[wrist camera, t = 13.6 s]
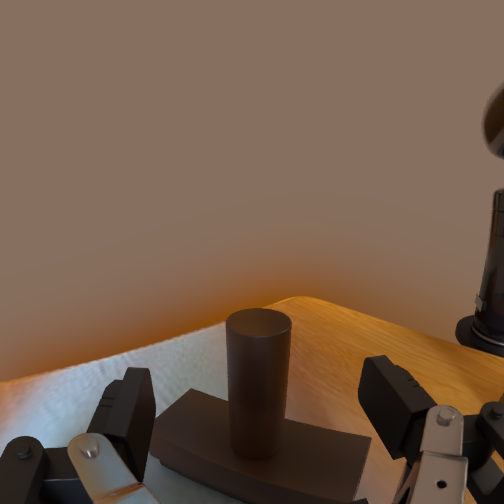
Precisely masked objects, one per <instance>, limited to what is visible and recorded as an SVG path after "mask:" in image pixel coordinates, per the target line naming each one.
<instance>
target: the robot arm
mask: <svg viewBox="0 0 504 504" xmlns="http://www.w3.org/2000/svg"><path fill="white" fill-rule="evenodd" d="M481 132H482V137H483V141H484V143H485V146H486V147H487V149H488V151H489V152H490V153H491V154H492V155H494V156H495V157H497V158H499V159H502V160H504V80H503V81H502V82H501V83H500V84H499V85H498V86H497V87H496V88H495V90H494V91H493V92H492V93H491V94H490V96H489V98H488V99H487V101H486V104H485V107H484V110H483V114H482V121H481ZM475 303H476V305H477V306H476V310H475V314H474V318H473V321H472V324H471V331H472V333H473V334H474V335H475V336H476V337H477V338H479V339H480V340H482V341H484V342H486V343H488V344H490V345H493V346H497V347H503V348H504V187H501V188H498V189H496V190H495V191H494V193H493V196H492V210H491V220H490V229H489V239H488V247H487V254H486V260H485V267H484V272H483V277H482V283H481V288H480V293H479V296H478V294H477V295H476V300H475ZM358 399H359V403H360V405H361V407H362V408H363V410H364V412H365V413H366V415H367V417H368V418H369V420H370V422H371V423H372V425H373V427H374V428H375V430H376V432H377V433H378V435H379V437H380V439H381V440H382V442H383V444H384V445H385V447H386V449H387V450H388V452H389V454H390V455H391V457H392V459H393V460H395V459H399V458H402V457H405V458H406V459H407V461H406V463H405V465H404V468H403V471H402V475H401V478H400V481H399V484H398V488H397V491H396V494H395V497H394V500H393V502H392V504H464V499H465V491H466V486H467V488H468V489H469V491H470V493H471V494H472V496H473V497H474V499H475V501H476V502H477V504H504V474H503V472H502V471H501V470H500V468H499V467H498V466H497V464H496V463H495V462H494V460H493V459H492V458H491V455H492V454H493V452H494V451H495V450H496V451H497V452H498V453H499V455H500V456H501V457H502V459H503V460H504V404H503V403H500V402H488V403H486V404H484V405H483V406H482V408H481V410H480V413H479V414H477V415H466V416H463V415H462V414H461V413H460V411H458V410H457V409H456V408H453V407H451V406H447V405H437V403H436V402H435V401H434V400H433V399H432V398H431V397H430V396H429V394H428V393H427V392H426V391H425V390H424V389H423V388H422V387H421V386H420V384H419V383H418V382H417V381H416V380H414V378H413V377H412V375H411V374H410V373H409V372H408V371H407V370H405V369H403V368H401V367H400V366H398V365H394V364H393V363H392V362H391V361H390V360H389V359H388V357H387V356H385V355H381V356H374V357H367V358H366V359H365V360H364V364H363V369H362V373H361V378H360V383H359V387H358ZM155 416H156V403H155V397H154V392H153V386H152V381H151V375H150V371H149V369H148V368H134V367H128V368H127V371H126V373H125V376H124V378H123V380H114V381H113V382H112V383H110V384H109V385H108V386H107V387H106V388H105V390H104V393H103V395H102V399H100V402H99V404H98V406H97V408H96V411H95V413H94V415H93V418H92V420H91V422H90V425H89V427H88V429H87V432H86V433H84V434H81V435H78V436H76V437H75V438H74V439H72V440H71V441H70V443H69V445H68V447H62V448H43V446H42V444H41V443H40V441H39V440H37V439H36V438H33V437H30V436H21V437H17V438H15V439H13V440H12V441H10V442H9V443H8V444H7V446H6V448H5V450H4V451H3V453H2V455H1V457H0V504H160V503H159V502H158V500H157V499H156V498H155V497H154V496H153V494H152V493H151V492H150V491H149V489H148V488H147V487H146V486H145V485H144V484H143V483H139V482H143V479H144V473H145V467H146V462H147V457H148V451H149V446H150V441H151V436H152V431H153V426H154V421H155ZM344 504H369V503H368V501H367V499H366V498H364V499H361V500H357V501H353V502H348V503H344Z"/></svg>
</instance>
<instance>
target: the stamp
mask: <svg viewBox="0 0 504 504" xmlns="http://www.w3.org/2000/svg"><path fill="white" fill-rule="evenodd" d="M291 328H292V322H291V319H290V318H289V317H288V316H287V315H285V314H284V313H282V312H279V311H276V310H271V309H262V308H254V309H246V310H241V311H238V312H235V313H233V314H231V315H230V316H229V317H228V318H227V320H226V345H227V374H228V400H229V401H226V400H223V399H220V398H217V397H214V396H211V395H208V394H206V393H203V392H200V391H197V390H195V389H192V388H191V389H189V390H188V391H187V392H186V393H185V394H184V395H183V396H181V397H180V398H179V399H178V400H177V401H176V402H174V403H173V404H172V405H171V406H170V407H169V408H167V409H166V410H165V411H164V412H163V413H162V414H160V415H159V416H158V417H157V418H156V419H155V421H154V426H153V431H152V436H151V441H150V446H149V451H150V454H151V455H152V456H153V457H155V458H157V459H159V460H160V463H161V465H163V466H165V467H167V468H169V469H171V470H173V471H175V472H177V473H179V474H181V475H183V476H185V477H187V478H189V479H191V480H193V481H195V482H197V483H200V484H202V485H204V486H206V487H209V488H211V489H213V490H216V491H218V492H220V493H223V494H225V495H228V496H230V497H233V498H235V499H238V500H240V501H243V502H246V503H249V504H344V503H348V502H353V501H354V498H355V495H356V492H357V489H358V486H359V483H360V479H361V476H362V473H363V469H364V466H365V462H366V459H367V455H368V451H369V448H370V444H371V440H372V438H371V437H366V436H361V435H355V434H350V433H345V432H340V431H335V430H331V429H326V428H322V427H317V426H313V425H309V424H305V423H301V422H297V421H293V420H289V419H285V408H286V396H287V384H288V371H289V358H290V343H291Z"/></svg>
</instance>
